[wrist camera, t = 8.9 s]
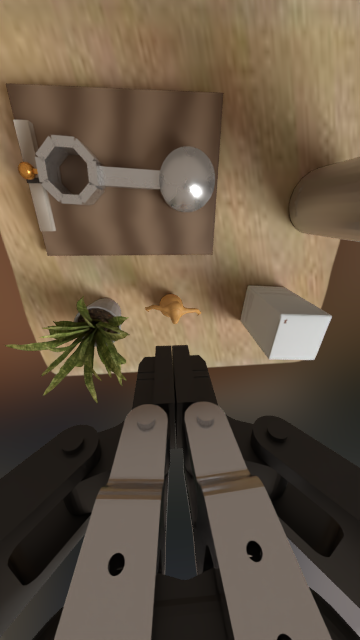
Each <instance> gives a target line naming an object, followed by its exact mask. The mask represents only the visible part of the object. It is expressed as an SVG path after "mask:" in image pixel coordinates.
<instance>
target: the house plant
mask: <svg viewBox="0 0 360 640" xmlns="http://www.w3.org/2000/svg"><path fill="white" fill-rule="evenodd" d="M83 297H84V296H83ZM83 297H82V298H81V299H80V300H79V301H78V302H77V310H78V312H79V313H78V314H77V315H76V317H75V319H74V322H71V321H59V322H54V321H53V322H54V323H55V324H56V326H51V327H48V328H44V329H49V332H50V335H48V336H43V337H41V338H55V339H57V340H53V341H49V342H42V343H33V344H27V345H5V346H8V347H11V348H15V349H20V350H27V351H28V350H29V351H35V350H46V349H49V350H51V351H54V352H62V351H65V350H66V351H65V352H64V353H63V354H62V355H61V356H60V357H59V358H57V359H56V360H55V361H54V362H53V363H52V364H51V365H50V366H49V367H48V368H47V370H46V371H45V372H44V373H43V374H42V376H43V375H45V374H47V373H48V372H50V371H51V370H52V369H53V368H55V367H56V366H57V365H58V364H59V363H60V362H61V361H62V360H64V359H65V358H66V357H67V355H68V354H69V353H70V352H71V351H72V350H73V349H74V347H75V346H76V345H77V344H78V343H79V342H81V343H80V345H79V347H78V348H77V349H76V351H75V352H74V353H73V354H72V355H71V356H70V357H69V358H68V359H67V361H66V362H65V364H64V365H63V366H62V367H61V368H60V371H59V373H58V374H57V375H56V376H55V377H54V379H53V380H52V382H51V384H50V386H49V387H48V388H47V389H46V391H45V393H44V395H45V394H47V393H48V392H49V391H51V390H52V389H53V388H54V387H56V386H57V385H58V383H60V382H61V381H62V380H63V378H64V377H65V376H66V375H67V374H68V373H69V372H70V371H71V370H72V369H73V368H74V367H75V366H76V367H82V366H83V365H84V378H85V384H86V386H87V388H88V389H89V391H90V393H91V395H92V397H93V399H94V400H95V401H96V402H97V397H96V393H95V389H94V384H93V379H92V373H93V374H94V375H95V376H96V377H97V378H98V379H100V378H99V377H98V375H97V374H96V372H95V371H94V370H93V358H94V346H96V347H97V351H98V354H99V357H100V359H101V361H102V362H103V364H105V367H106V369H107V371H108V374H109V375H110V377H111V371H112V372H114V373H115V374H116V375H117V378H118V380H119V382H120V384H121V385H122V383H121V382H122V379H125V378H124V376H123V375H122V373H121V364H125V363H126V360H125V359H124V358H123V357H122V356H121V355H120V354H119V353H117V350H116V348H115V346H114V344H113V343H114V342H115V341H117V340H119V339H123V338H125V337H126V336H127V335H129V334H128V333H126V332H124V331H122V330H121V324H122V323H123V322H124V321H125V320H126V319H127V318H129V317H127V318H126V317H122V316H121V309H120V307H119V305H118V304H117V303H116V302H115V301H113V300H112V299H109V298H103V299H99V300H96V301H95V302H93V303H92V304H90V305H88V306H87V307H86V305H85V303H84V300H83ZM120 333H121V334H120ZM77 337H78V338H77ZM38 338H39V337H38ZM75 338H77V339H76V340H75V341H74V342H73V343H72V344H71V345H70V346H68V347H63V348H55V347H57V346H59V345H62V344H64V343H66V342H69V341H71V340H73V339H75ZM107 346H108V347H107ZM108 349H109V350H108ZM110 354H111V355H110ZM111 356H112V357H111ZM84 361H85V362H84ZM121 378H122V379H121ZM125 380H126V379H125Z"/></svg>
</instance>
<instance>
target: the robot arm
mask: <svg viewBox="0 0 360 640" xmlns="http://www.w3.org/2000/svg"><path fill="white" fill-rule="evenodd" d="M289 214H290V218H291V222H292V223H293V225H294V226H295V227H296V228H297V229H298V230H299V231H301V232H303V233H307V234H312V235H319V236H325V237H331V238H338V239H346V240H352V241H358V242H360V157H357V158H354V159H350V160H346V161H343V162H339V163H335V164H332V165H328V166H325V167H321V168H317V169H315V170H313V171H311V172H310V173H308V174H307V175H305V176H304V177H303V178H302V179H301V181H300V182H299V183H298V184H297V186H296V187H295V189H294V191H293V193H292V196H291V200H290V205H289ZM175 428H176V444H177V448H183V459H184V462H183V470H184V478H185V484H186V490H187V497H188V503H189V510H190V516H191V522H192V529H193V537H194V548H195V549H194V550H195V560H196V569H197V576H196V577H194V578H192V579H189V580H180V579H177V578H174V577H170V576H166V575H165V547H166V545H165V542H166V519H167V499H168V478H169V477H168V476H169V468H170V449H174V448H175ZM85 533H86V534H85ZM84 534H85V538H84V541H83V544H82V547H81V551H80V554H79V557H78V561H77V564H76V568H75V571H74V574H73V578H72V581H71V584H70V588H69V591H68V595H67V598H66V601H65V605H64V607H62V608H61V609H60V610H59V611H58V612H57V613H56V614H55V615H54V616H53V617H52V618H51V619H50V620H49V621H48V622H47V623H46V624H45V625H44V626H43V628H42V629H41V630H40V631H39V632H38V633H37V635H36V636H35V637H34V638H33V639H32V640H360V637H359V636H358V635H357V634H356V632H355V631H353V629H352V628H351V627H350V626H349V625H348V624H347V623H346V622H345V620H344V619H343V618H342V617H341V616H340V615H339V614H338V613H337V612H336V611H335V610H334V609H333V608H332V606H331V605H330V604H328V603H327V602H326V601H325V600H324V599H323V598H322V597H321V596H320V595H319V594H317V593H316V592H315V591H314V590H312V589H311V588H310V587H308V584H307V582H306V580H305V577H304V575H303V573H302V571H301V568H300V566H299V564H298V562H297V559H296V557H295V555H294V552H293V550H292V548H291V546H290V544H289V541H288V539H287V537H288V538H289V539H290V540H291V541H292V542H293V543H294V544H295V545H296V546H297V547H298V548H299V549H300V550H301V551H302V552H303V553H304V554H305V555H306V556H307V557H308V558H309V559H310V560H311V561H312V562H313V563H314V564H315V565H316V566H317V567H318V568H319V569H320V570H321V571H322V572H323V573H325V575H326V576H327V577H328V578H329V579H330V580H331V581H332V582H333V583H334V584H335V585H336V586H337V587H339V588H340V589H341V590H342V591H343V592H344V593H345V594H346V595H347V596H348V597H349V598H350V599H351V600H352V601H353V602H354V603H355V604H356V605H357V606H358V607H359V608H360V468H359V467H358V466H356V465H354V464H353V463H351V462H350V461H348V460H347V459H345V458H343V457H342V456H340V455H339V454H337V453H336V452H334V451H332V450H331V449H329V448H327V447H326V446H325V445H323V444H321V443H320V442H318V441H317V440H315V439H313V438H312V437H310V436H309V435H307V434H305V433H304V432H303V431H301V430H299V429H298V428H296V427H295V426H293V425H291V424H290V423H288V422H287V421H285V420H283V419H281V418H278V417H275V416H263V417H260V418H258V419H257V420H256V421H255V423H254V424H250V423H246V422H241V421H238V420H235V419H232V418H230V417H228V416H227V415H226V414H225V413H224V411H223V410H222V409H221V408H220V407H219V406H218V404H217V400H216V397H215V393H214V390H213V387H212V383H211V380H210V377H209V373H208V369H207V366H206V362H205V361H204V360H203V359H202V358H201V357H200V356H199V355H191V356H190V355H189V350H188V345H174V346H172V351H171V346H156V354H155V357H144V359H143V360H142V361H141V362H140V364H139V368H138V374H137V381H136V388H135V394H134V401H133V407H132V411H130V412H129V414H128V415H127V417H126V419H125V421H123V422H122V423H121V424H119V425H118V426H116V427H113V428H110V429H108V430H105V431H102V432H99V433H97V431H96V430H95V429H94V428H93V427H91V426H88V425H77V426H73V427H70V428H68V429H66V430H64V431H63V432H61V433H60V434H58V435H57V436H56V437H55V438H53V439H52V440H51V441H49V442H48V443H47V444H45V445H44V446H43V447H42V448H40V449H39V450H38V451H37V452H35V453H34V454H32V455H31V456H30V457H28V458H27V459H26V460H25V461H23V462H22V463H21V464H19V465H18V466H17V467H15V468H14V469H13V470H11V471H10V472H9V473H8V474H6V475H5V476H4V477H3V478H1V479H0V637H1V636H2V635H3V633H4V632H5V631H6V629H7V628H8V627H9V626H10V625H11V624H12V622H13V621H14V620H15V619H16V617H17V616H18V615H19V614H20V613H21V611H22V610H23V609H24V608H25V606H26V605H27V604H28V603H29V602H30V600H31V599H32V598H33V597H34V596H35V594H36V593H37V592H38V591H39V589H40V588H41V587H42V586H43V584H44V583H45V582H46V581H47V579H48V578H49V577H50V576H51V575H52V573H53V572H54V571H55V570H56V569H57V567H58V566H59V565H60V564H61V563H62V561H63V560H64V559H65V557H66V556H67V555H68V554H69V553H70V552H71V550H72V549H73V548H74V547H75V545H76V544H77V543H78V542H79V541H80V539H81V538H82V537H83V536H84ZM286 536H287V537H286Z"/></svg>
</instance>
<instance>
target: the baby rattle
mask: <svg viewBox="0 0 360 640" xmlns="http://www.w3.org/2000/svg"><path fill="white" fill-rule="evenodd" d="M36 155H37V156H38V157H35V160H36V166H37V169H35V168H34V167H33V166H32V165H31V164H30V163H28V162H21V163H20V164H19V165H18V171H19V173H20V175H21V176H22V177H23V178H25V179H28V180H32V179H34V178H35V176H36V174H38V176H39V182H42V184H41V185H42V186H43V187H44V188H45V189H46V190H47V191H48V192H49V193H50V194H51V195H52V196H53V197H54V198H55V199H56V200H57V201H58V202H61V203H63V204H76V205H91V204H94V203H95V202H96V201H97V200H98V199H99V197H100V196H101V195H102V194H103V193H104V192H105V191H104V190H103V189H106V188H105V187H119V188H135V189H150V190H160V191H161V194H162V197H163V199H164V200H165V202H166V203H167V204H168V205H169V206H170V207H171V208H173V209H174V210H176V211H180V212H193V211H196V210H198V209H200V208H201V207H203V206H204V205H205V204H206V203H207V202H208V200H209V199H210V197H211V195H212V193H213V190H214V186H215V172H214V168H213V165H212V163H211V161H210V159H209V158H208V157H207V155H206V154H205V153H204V152H202V151H201V150H199V149H197V148H195V147H190V146H185V147H180V148H177V149H175V150H174V151H172V152H171V153H170V154H169V155H168V156H167V157H166V159H165V160H164V162H163V164H162V166H161V169H160V171H159V170H146V169H132V168H118V167H104V166H102V163H101V162H100V161H99V160H98V159H97V158H96V157H95V155H94V154H93V153H92V152H91V151H90V150H89V149H88V148H87V147H86V146H85V145H84V144H83V143H82V142H80V141H79V140H78V139H77V138H75V137H72V136H60V135H51V137H49V136H48V137H47V138H46V140H45V141H44V143H43V144H42V145H41V147H40V148H39V149H38V151H37V152H36ZM68 155H80V156H81V157H82V158H83V159H84V161H85V162H86V163H87V168H88V177H89V183H88V185H87V186H86V187H85V188H84V189H83V191H82V192H81V193H80V194H79V195H72V194H71V193H70V191H69V190H68V189H67V188H66V187H65V186H64V185H63V184H62V181H61V174H60V168H59V166H60V165H61V164H62V162H63V161H64V160H65V159H66V157H67V156H68Z"/></svg>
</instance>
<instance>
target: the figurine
mask: <svg viewBox="0 0 360 640" xmlns="http://www.w3.org/2000/svg"><path fill="white" fill-rule="evenodd" d="M145 309H146V310H147V311H148V310H151V309H156V310H160V311H161V312H162V313H163V314H164V315H165V316H167V317H170V318H171V320H172V322H173V324H177V323H178V321H179V319H180V317H181V316H182V315H184V314H186V313H193V312H196V313H198V315H199V314H200V313H201V312H200V311H199V310H198V309H196V308H185V307H184V306H183V304H182V301H181V299H180V298H179V297H178V296H177V295H174V294H168V295H165V296H164V297H163V298H162V299H161V301H160V305H159V306H158V305H152V306H149V307H145ZM148 312H149V311H148Z"/></svg>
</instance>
